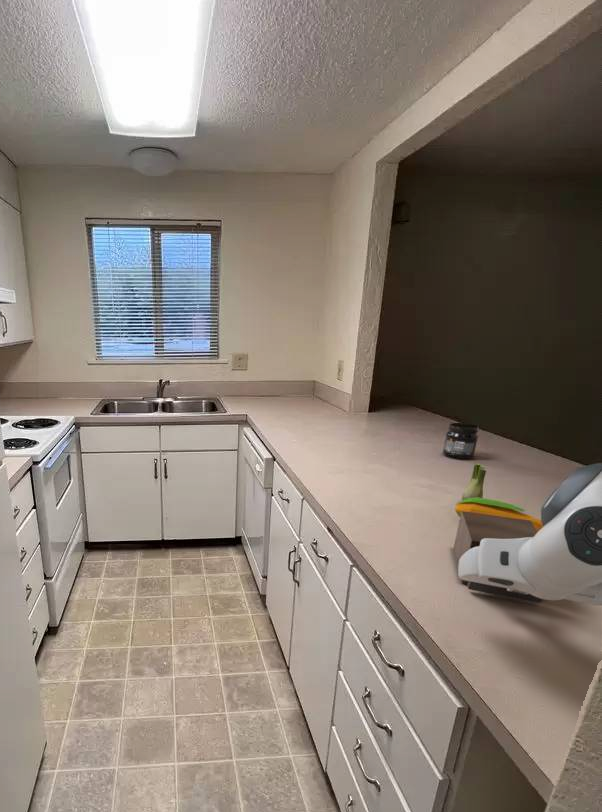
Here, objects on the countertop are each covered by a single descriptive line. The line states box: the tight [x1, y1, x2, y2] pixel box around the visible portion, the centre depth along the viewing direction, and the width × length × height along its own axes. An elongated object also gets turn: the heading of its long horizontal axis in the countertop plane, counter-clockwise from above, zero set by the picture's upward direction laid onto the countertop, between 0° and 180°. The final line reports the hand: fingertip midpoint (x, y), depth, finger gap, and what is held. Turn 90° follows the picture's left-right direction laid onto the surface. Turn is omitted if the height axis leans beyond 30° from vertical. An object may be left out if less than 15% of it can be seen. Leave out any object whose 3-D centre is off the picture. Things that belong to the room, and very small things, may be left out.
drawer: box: [466, 545, 543, 604], centre depth 85 cm, size 18×12×8 cm, turn 157°
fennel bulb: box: [461, 462, 487, 501], centre depth 122 cm, size 6×5×12 cm
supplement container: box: [442, 422, 479, 460], centre depth 165 cm, size 10×10×12 cm
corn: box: [454, 497, 544, 531], centre depth 108 cm, size 7×8×20 cm
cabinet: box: [452, 511, 538, 585], centre depth 90 cm, size 15×13×10 cm
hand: (516, 588), depth 76 cm, fingers closed, pressing on drawer
